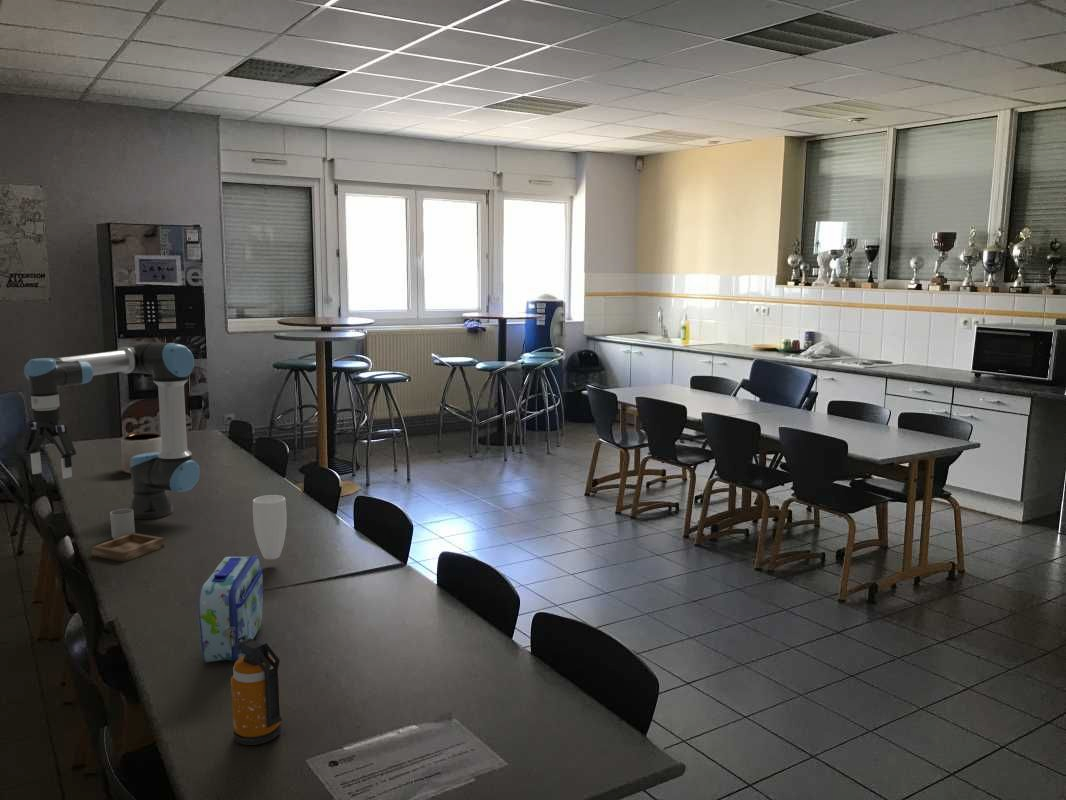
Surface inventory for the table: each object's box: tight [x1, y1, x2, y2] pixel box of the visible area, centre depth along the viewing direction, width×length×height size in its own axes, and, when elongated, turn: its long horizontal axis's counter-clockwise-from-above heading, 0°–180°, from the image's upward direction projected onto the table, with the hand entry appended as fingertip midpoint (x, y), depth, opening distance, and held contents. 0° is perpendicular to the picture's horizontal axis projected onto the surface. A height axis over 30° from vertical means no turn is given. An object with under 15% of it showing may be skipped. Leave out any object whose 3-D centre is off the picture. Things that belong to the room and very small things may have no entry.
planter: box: [120, 432, 162, 475], centre depth 384 cm, size 18×18×16 cm
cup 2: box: [252, 494, 288, 560], centre depth 263 cm, size 10×10×22 cm
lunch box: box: [198, 554, 264, 663], centre depth 208 cm, size 26×11×21 cm, turn 5°
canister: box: [230, 638, 283, 746], centre depth 168 cm, size 9×11×20 cm
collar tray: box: [91, 532, 165, 563], centre depth 277 cm, size 16×14×3 cm
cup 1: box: [109, 508, 136, 540], centre depth 293 cm, size 7×10×9 cm
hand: (52, 475), depth 265 cm, fingers open, 13 cm apart
